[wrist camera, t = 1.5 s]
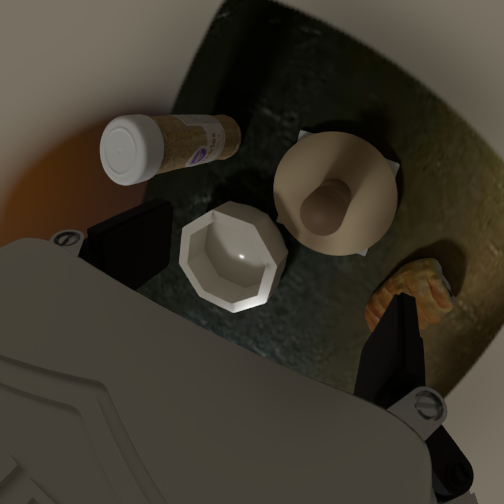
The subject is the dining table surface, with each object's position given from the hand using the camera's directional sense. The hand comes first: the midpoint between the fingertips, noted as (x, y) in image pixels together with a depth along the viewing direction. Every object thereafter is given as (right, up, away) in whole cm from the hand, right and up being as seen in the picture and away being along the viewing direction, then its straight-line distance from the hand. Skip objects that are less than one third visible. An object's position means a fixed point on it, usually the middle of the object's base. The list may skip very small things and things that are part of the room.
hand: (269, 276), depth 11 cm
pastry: (+15, -3, +15) cm, 22 cm away
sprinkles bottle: (-3, +12, +16) cm, 21 cm away
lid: (+7, +6, +14) cm, 17 cm away
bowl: (-2, +1, +20) cm, 21 cm away
